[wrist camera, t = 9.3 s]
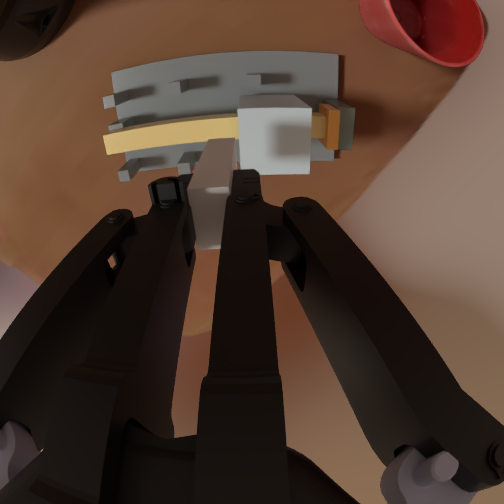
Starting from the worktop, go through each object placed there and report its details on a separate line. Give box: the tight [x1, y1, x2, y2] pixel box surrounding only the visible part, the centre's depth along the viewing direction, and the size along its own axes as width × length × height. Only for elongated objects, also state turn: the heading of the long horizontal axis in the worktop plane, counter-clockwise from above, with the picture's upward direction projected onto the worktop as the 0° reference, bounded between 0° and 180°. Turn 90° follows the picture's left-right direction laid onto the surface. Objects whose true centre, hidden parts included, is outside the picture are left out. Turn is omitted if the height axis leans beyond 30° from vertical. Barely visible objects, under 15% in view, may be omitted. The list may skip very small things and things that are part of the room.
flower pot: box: [360, 0, 484, 67], centre depth 15 cm, size 11×11×10 cm
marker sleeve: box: [237, 94, 312, 175], centre depth 22 cm, size 5×5×8 cm
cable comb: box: [103, 51, 355, 182], centre depth 24 cm, size 12×23×7 cm, turn 92°
